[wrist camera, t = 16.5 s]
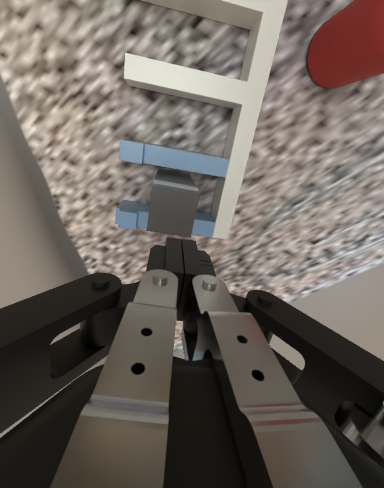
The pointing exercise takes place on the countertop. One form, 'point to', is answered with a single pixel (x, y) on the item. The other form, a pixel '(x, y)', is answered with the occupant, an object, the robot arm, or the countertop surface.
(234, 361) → the robot arm
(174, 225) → the grey trapezoid block
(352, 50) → the beer can
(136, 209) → the duct comb
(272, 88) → the countertop surface
